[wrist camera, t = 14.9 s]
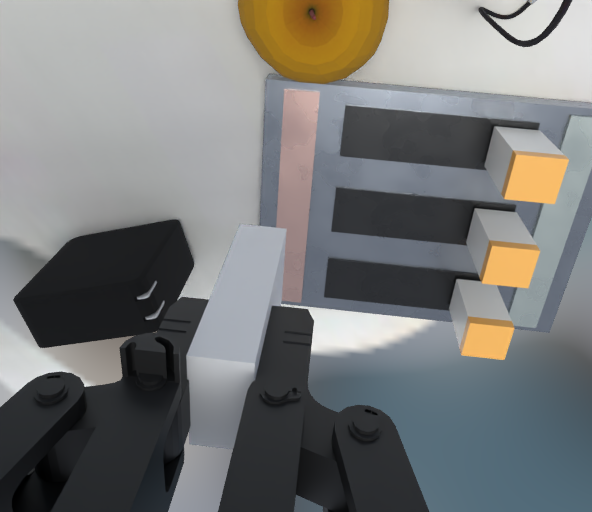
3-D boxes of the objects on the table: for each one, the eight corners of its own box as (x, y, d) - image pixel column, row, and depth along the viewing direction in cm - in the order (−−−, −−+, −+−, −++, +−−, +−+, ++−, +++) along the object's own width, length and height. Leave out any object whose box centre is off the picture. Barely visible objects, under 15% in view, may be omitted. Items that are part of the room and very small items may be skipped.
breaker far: (449, 308, 44) (461, 355, 39) (456, 278, 43) (470, 323, 38) (486, 312, 44) (504, 359, 39) (495, 283, 43) (514, 327, 38)
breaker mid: (466, 242, 42) (481, 283, 36) (474, 208, 40) (492, 245, 35) (506, 246, 41) (528, 288, 36) (516, 212, 40) (540, 250, 35)
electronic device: (71, 236, 47) (7, 302, 38) (181, 217, 45) (140, 281, 37) (90, 278, 49) (33, 350, 40) (197, 261, 47) (161, 332, 38)
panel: (259, 289, 48) (256, 302, 46) (269, 73, 39) (265, 80, 37) (542, 319, 47) (550, 334, 45) (618, 105, 38) (631, 113, 36)
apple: (235, 33, 38) (205, 56, 30) (283, -102, 34) (263, -116, 26) (348, 87, 39) (347, 122, 31) (408, -39, 35) (423, -34, 27)
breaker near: (484, 165, 39) (504, 199, 34) (494, 126, 37) (516, 154, 32) (528, 170, 38) (554, 204, 33) (539, 130, 37) (569, 159, 32)
